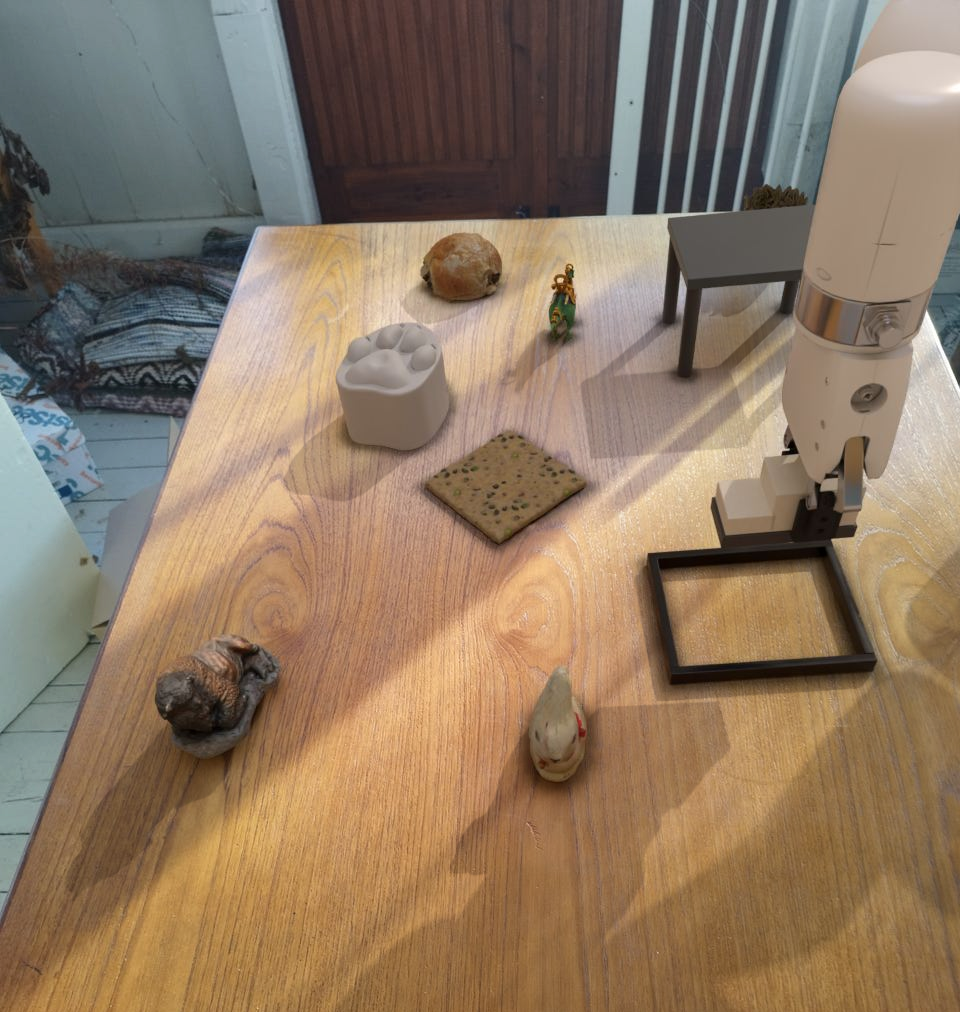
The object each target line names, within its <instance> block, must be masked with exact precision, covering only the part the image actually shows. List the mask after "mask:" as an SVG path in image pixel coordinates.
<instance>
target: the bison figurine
mask: <svg viewBox="0 0 960 1012" xmlns="http://www.w3.org/2000/svg"><path fill="white" fill-rule="evenodd" d="M281 668H282V666H281V663H280V661H279V660H278V659H277V657H275V655H274V654H272V652H271V651H270V650H268V649H267V648H265V647H264V646H261V645H258V644H257V643H251V642H250V641H249V640H248V639H247V638H246V637H242V636H241V635H238V634H231V633H224V634H220V635H218V636H217V635H216V636H213V637H211V638H210V639H208V640H206V641H204V642H203V643H202V644H201V645H200V647H199V648H197V649H196V650H194V651H192V652H191V653H188V654H186V655H184V656H179V657H178V658H176V659H173V660H172V661H170V662H169V663H168V664H167V665H166V666H164V668H163V669H162V670H161V671H160V673H159V675H158V676H157V679H156V682H155V693H154V703H155V707H156V709H157V712H158V713H159V716H160V717H161V719H163V720H164V721H167V722H168V723H169V724H170V726H171V734H170V738H169V742H170V744H172V745H173V746H174V747H176V748H178V749H179V750H181V751H183V752H186V753H188V754H190V755H191V756H193V757H196V758H197V759H203V760H206V759H212V758H215V757H218V756H219V755H221V754H224V753H225V752H226V751H229V750H230V749H233V748H235V747H236V746H237V745H239V744H240V743H241V742H243V741H244V740H245V739H246V737H247V736H248V735H249V733H250V730H251V723H252V719H253V716H254V714H255V711H256V710H257V709H256V708H257V706H258V705H259V704H260V702H261V700H262V699H263V698H264V695H265V694H266V693H267V692H268V691H270V690H271V689H272V688H274V687H277V684H278V679H279V675H280V672H281Z"/></svg>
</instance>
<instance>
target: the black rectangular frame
mask: <svg viewBox="0 0 960 1012" xmlns="http://www.w3.org/2000/svg"><path fill="white" fill-rule="evenodd" d="M832 540H833V539H831V540H823V541H811V542H800V543H794V542H791V543H779V544H767V545H755V546H743V547H731V548H721V547H711V548H698V549H697V548H696V549H686V550H685V549H684V550H683V549H682V550H670V551H657V552H647V556H646V569H647V574H648V579H649V583H650V584H649V585H650V589H651V594H652V599H653V604H654V609H655V614H656V620H657V625H658V631H659V635H660V641H661V646H662V651H663V656H664V661H665V666H666V671H667V676H668V682H669V685H683V684H684V685H685V684H699V683H715V682H729V681H745V680H761V679H775V678H777V679H778V678H791V677H805V676H806V677H807V676H820V675H821V676H822V675H836V674H851V673H867V672H873V671H874V670H875V667H876V665H877V663H878V658H877V655H876V653H875V650H874V647H873V644H872V642H871V639H870V637H869V635H868V634H869V633H868V632H867V629H866V626H865V624H864V621H863V618H862V616H861V613H860V611H859V608H858V606H857V603H856V600H855V597H854V595H853V592H852V590H851V588H850V585H849V581H848V580H847V576H846V574H845V572H844V570H843V567H842V564H841V561H840V559H839V556H838V554H837V551H836V549H835V545H834V543H833V541H832ZM818 558H821V561H822V563H823V566H824V569H825V572H826V574H827V577H828V580H829V582H830V585H831V587H832V590H833V593H834V595H835V598H836V601H837V604H838V606H839V609H840V613H841V614H842V618H843V621H844V623H845V626H846V629H847V631H848V634H849V637H850V640H851V642H852V645H853V648H854V651H855V653H856V654H846V655H845V654H843V655H831V656H817V657H816V656H815V657H802V658H801V657H800V658H784V659H770V660H756V661H755V660H754V661H739V662H738V661H737V662H723V663H709V664H695V665H694V664H693V665H680V662H679V661H680V660H679V656H678V651H677V647H676V642H675V637H674V632H673V627H672V622H671V618H670V612H669V608H668V602H667V599H666V598H667V597H666V594H665V590H664V584H663V579H662V574H661V570H666V569H680V568H694V567H709V566H722V565H723V566H724V565H735V564H750V563H764V562H778V561H789V560H791V561H792V560H805V559H818Z"/></svg>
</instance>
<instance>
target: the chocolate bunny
mask: <svg viewBox="0 0 960 1012" xmlns="http://www.w3.org/2000/svg"><path fill="white" fill-rule="evenodd" d="M531 717H532V718H531V721H530V724H529V729H528V739H529V753H530V756H531V759H532V761H533V764H534V766H535V770H536V771H537V772H538V773H539V775H540V776H541V777H542V778H543V779H544V780H545V781H549V782H553V783H562V782H565V781H567V780H568V779H570V778H572V777H573V776H574V775H575V774H576V772H577V770H578V767H579V766H580V764H581V763H582V762H583V761H584V757H585V754H586V746H587V735H588V728H587V727H588V726H587V722H586V717H585V714H584V711H583V709H582V706H581V705H580V703H579V701H578V700H577V698H576V697H574V696H573V682H572V679H571V677H570V672H569V670H568V667H567V666H566V665H564V664H561V665H557V666H556V667H555V668H554V669H553V671H552V673H551V674H550V676H549V678H548V679H547V680H546V683H545V686H544V687H543V689H542V691H541V693H540V695H539V696H538V699H537V702H536V705H535V708H534V711H533V714H532V716H531Z"/></svg>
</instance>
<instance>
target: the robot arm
mask: <svg viewBox="0 0 960 1012" xmlns="http://www.w3.org/2000/svg"><path fill="white" fill-rule="evenodd" d="M833 113H834V114H833V118H832V121H831V122H832V123H831V128H830V133H829V138H828V141H827V147H826V151H825V157H824V162H823V167H822V171H821V175H820V181H819V186H818V191H817V196H816V200H815V204H814V205H815V210H814V215H813V220H812V225H811V230H810V235H809V240H808V245H807V250H806V255H805V260H804V264H803V268H802V273H801V278H800V282H799V286H798V291H797V295H796V300H795V304H794V309H793V311H792V319H793V323H794V325H795V331H794V333H793V337H792V340H791V345H790V347H789V348H790V349H789V352H788V357H787V361H786V365H785V370H784V375H783V381H782V386H781V405H782V406H781V407H782V410H783V413H784V416H785V419H786V422H787V426H786V428H785V432H784V434H783V438H782V439H783V448H784V449H785V450H782V451H781V455H780V456H783V455H795V454H800V457H801V459H802V462H803V464H804V467H805V469H806V471H807V473H808V475H809V479H808V485H807V492H806V498H804V499H801V500H800V501H799V504H798V508H797V512H796V516H795V520H794V524H793V527H792V531H791V539H792V541H793V542H794V543H800V542H811V541H823V540H834V539H833V538H835V536H836V534H837V530H838V527H839V524H840V521H841V518H842V515H843V513H847V512H862V509H863V501H862V497H863V479H864V473H865V476H866V478H867V480H879V479H880V478H882V476H883V475H884V473H885V471H886V469H887V465H888V463H889V459H890V456H891V453H892V450H893V447H894V443H895V440H896V436H897V434H898V430H899V426H900V422H901V419H902V415H903V412H904V408H905V403H906V398H907V393H908V389H909V385H910V383H909V382H910V376H911V370H912V365H913V356H914V345H913V341H914V339H916V338H917V335H919V333H920V331H921V329H922V326H923V323H924V320H925V317H926V313H927V310H928V307H929V304H930V302H931V298H932V297H933V293H934V290H935V287H936V285H937V282H938V279H939V275H940V272H941V269H942V266H943V264H944V261H945V257H946V255H947V252H948V249H949V246H950V243H951V240H952V237H953V234H954V231H955V228H956V225H957V224H958V223H957V222H958V219H959V217H960V0H888V1H887V3H886V5H885V6H884V8H883V9H882V10H881V13H880V14H879V16H878V17H877V19H876V21H875V22H874V24H873V26H872V28H871V29H870V31H869V32H868V35H867V36H866V39H865V40H864V43H863V44H862V47H861V50H860V52H859V53H858V57H857V59H856V62H855V65H854V68H853V72H852V75H850V77H849V78H848V79H847V80H846V82H845V83H844V85H843V87H842V89H841V91H840V94H839V95H838V98H837V102H836V106H835V109H834V112H833ZM832 478H838V488H837V490H836V491H825V492H820V489H821V483H822V482H823V480H826V479H832Z"/></svg>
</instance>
